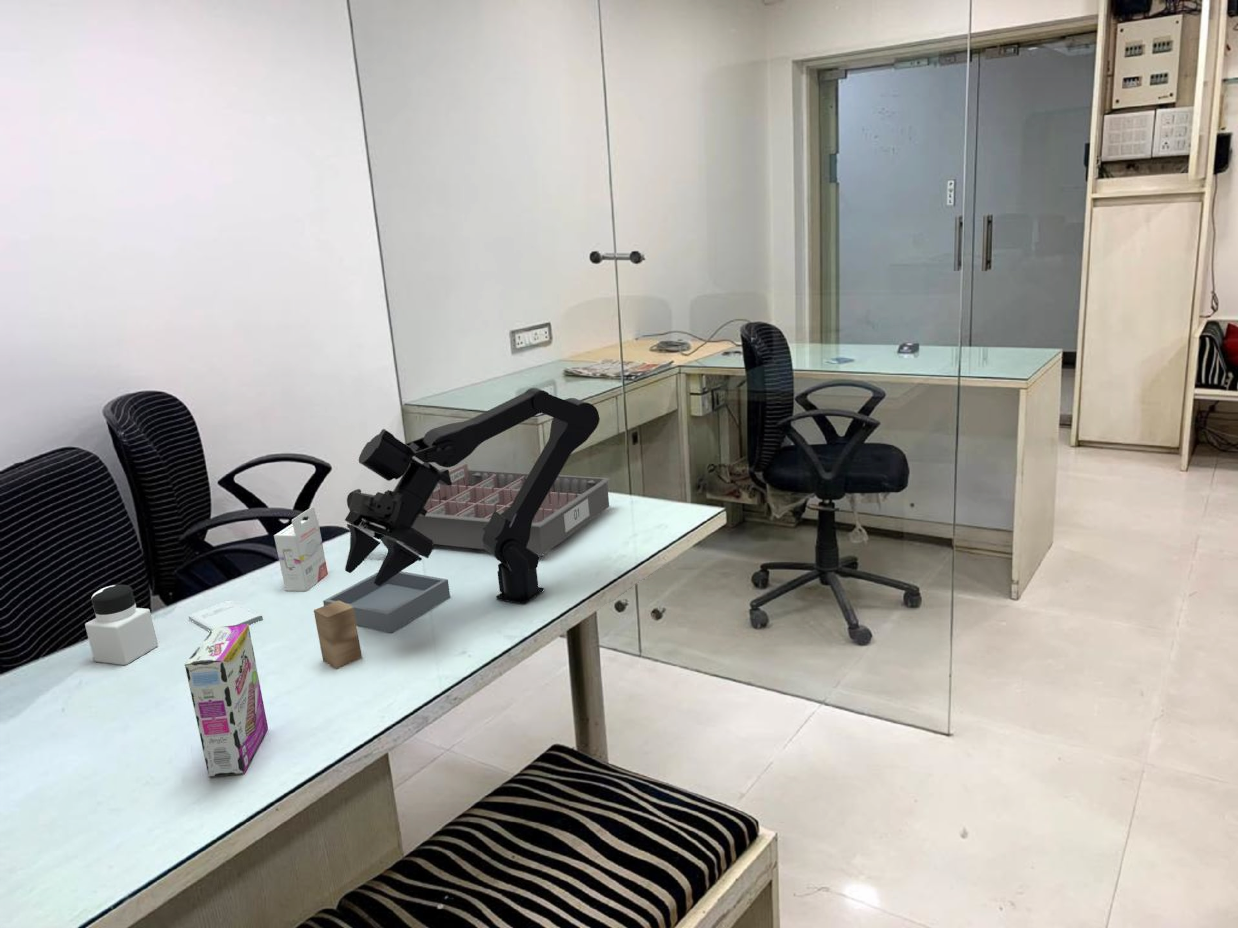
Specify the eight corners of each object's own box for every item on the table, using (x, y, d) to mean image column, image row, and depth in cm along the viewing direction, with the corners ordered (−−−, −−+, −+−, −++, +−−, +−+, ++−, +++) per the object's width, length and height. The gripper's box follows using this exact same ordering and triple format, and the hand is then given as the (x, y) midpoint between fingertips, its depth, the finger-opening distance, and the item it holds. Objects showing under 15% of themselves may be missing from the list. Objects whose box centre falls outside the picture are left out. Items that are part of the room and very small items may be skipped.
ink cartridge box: (306, 574, 185) (293, 505, 181) (328, 574, 184) (316, 505, 180) (283, 591, 177) (269, 520, 173) (306, 591, 176) (293, 519, 172)
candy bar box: (247, 774, 118) (222, 660, 114) (207, 779, 118) (181, 665, 113) (271, 727, 129) (249, 621, 124) (235, 731, 129) (212, 625, 124)
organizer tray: (544, 563, 181) (539, 516, 178) (384, 545, 198) (378, 502, 195) (614, 511, 208) (610, 469, 206) (468, 499, 226) (463, 461, 223)
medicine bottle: (159, 646, 158) (144, 581, 155) (125, 665, 151) (109, 599, 148) (127, 642, 160) (112, 579, 157) (93, 662, 154) (76, 596, 150)
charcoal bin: (450, 596, 168) (447, 579, 167) (390, 633, 155) (387, 614, 154) (387, 585, 176) (385, 568, 175) (326, 618, 163) (322, 600, 162)
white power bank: (219, 640, 160) (189, 622, 168) (263, 622, 165) (232, 606, 173) (217, 631, 159) (187, 614, 167) (262, 614, 165) (231, 598, 173)
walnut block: (348, 650, 151) (339, 600, 148) (362, 658, 147) (353, 607, 145) (323, 660, 148) (313, 609, 145) (336, 669, 144) (327, 617, 142)
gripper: (346, 462, 153) (296, 544, 149) (407, 480, 140) (353, 569, 136) (394, 495, 161) (347, 573, 156) (455, 514, 148) (406, 600, 143)
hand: (361, 578), depth 148 cm, fingers open, 9 cm apart
